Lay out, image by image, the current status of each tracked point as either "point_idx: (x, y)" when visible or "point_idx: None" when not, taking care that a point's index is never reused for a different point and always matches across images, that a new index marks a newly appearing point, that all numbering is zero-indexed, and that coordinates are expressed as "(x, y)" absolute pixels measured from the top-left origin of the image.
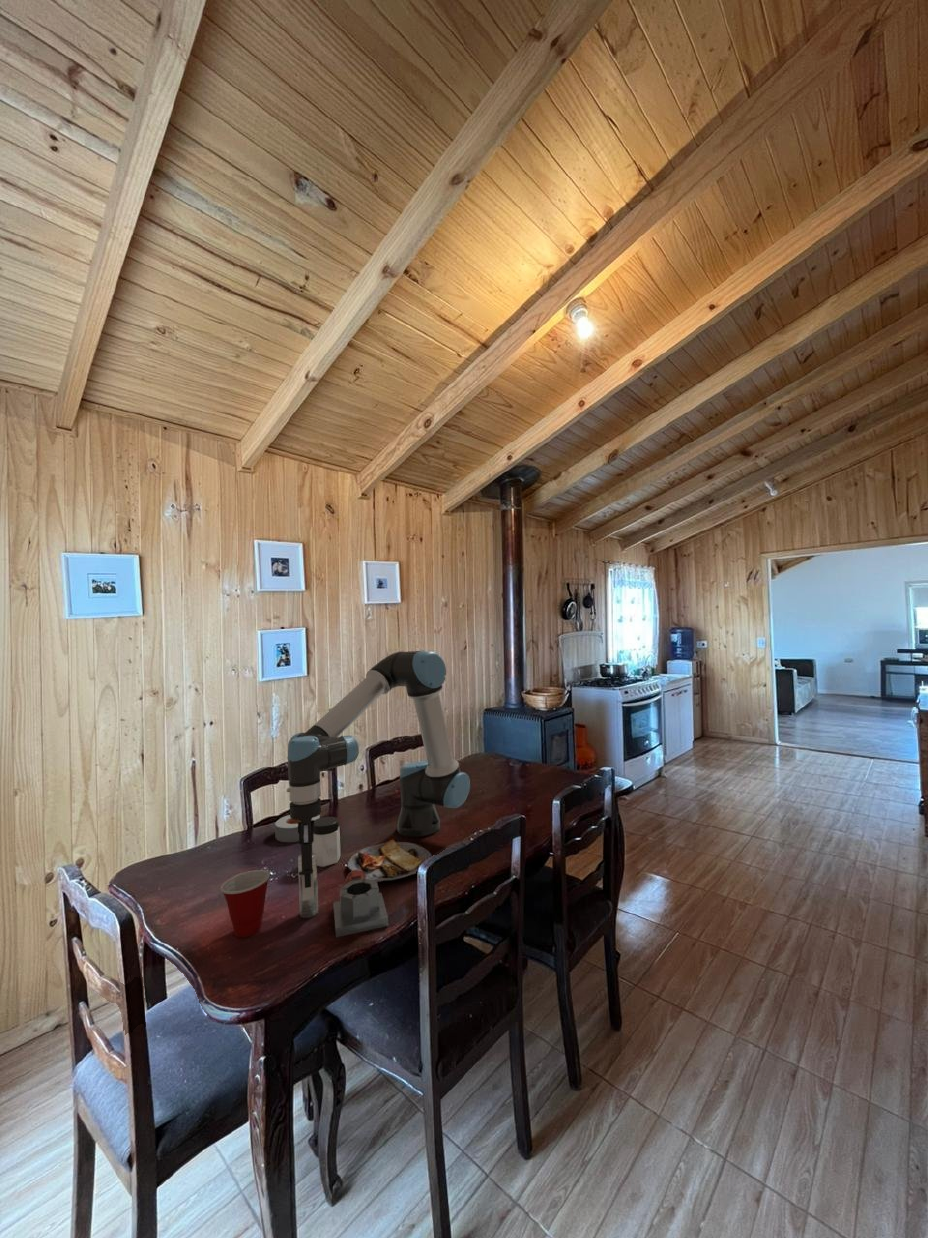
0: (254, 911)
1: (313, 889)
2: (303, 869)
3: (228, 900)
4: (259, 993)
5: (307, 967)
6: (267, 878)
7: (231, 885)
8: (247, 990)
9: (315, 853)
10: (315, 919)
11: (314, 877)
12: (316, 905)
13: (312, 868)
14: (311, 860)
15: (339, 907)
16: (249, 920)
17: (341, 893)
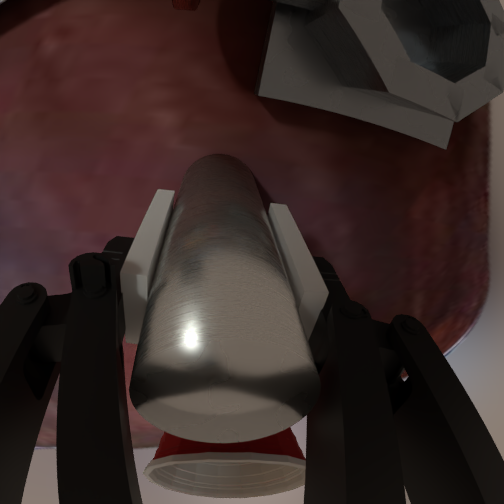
0: None
1: (296, 228)
2: (406, 391)
3: (260, 467)
4: (460, 316)
5: (472, 237)
6: (276, 460)
7: (185, 475)
8: (439, 334)
9: (207, 347)
10: (280, 173)
11: (273, 244)
12: (246, 173)
13: (338, 316)
14: (464, 397)
15: (325, 85)
16: None
17: (440, 107)
